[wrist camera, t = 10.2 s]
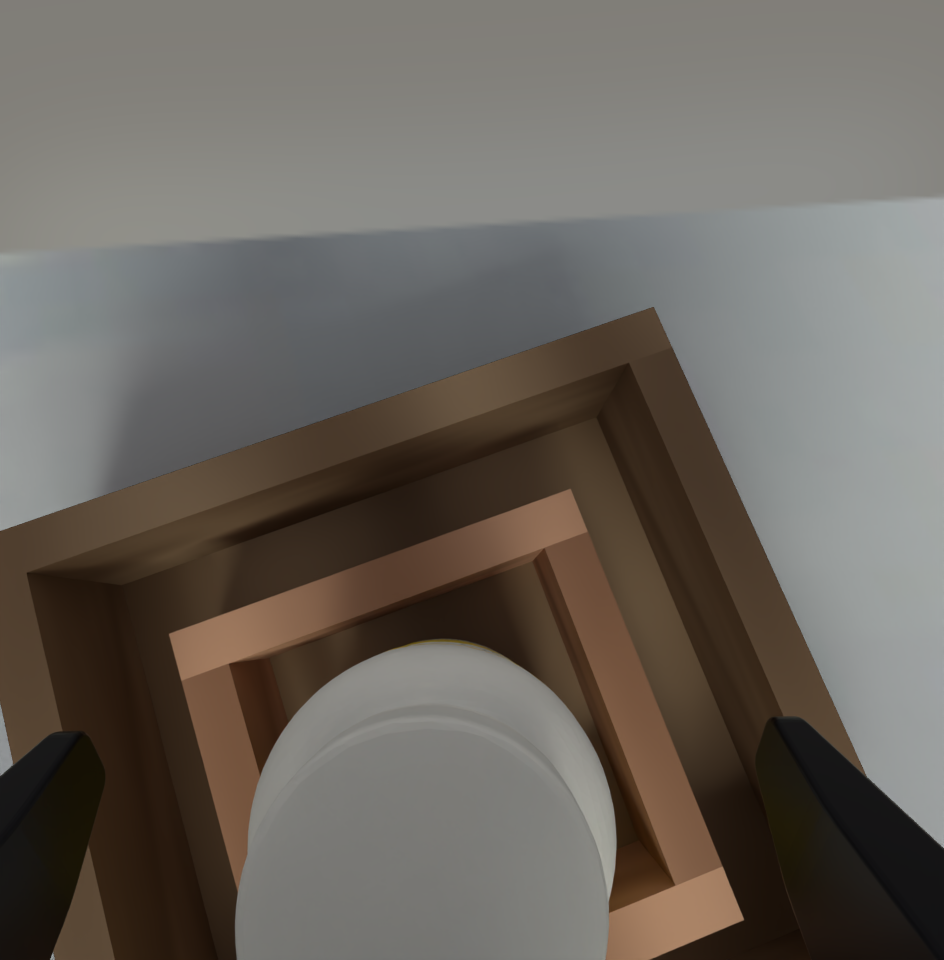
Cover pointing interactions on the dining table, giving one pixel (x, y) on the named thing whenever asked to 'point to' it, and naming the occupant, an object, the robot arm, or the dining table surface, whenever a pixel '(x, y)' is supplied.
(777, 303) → the dining table surface
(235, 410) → the dining table surface
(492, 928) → the supplement bottle
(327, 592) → the box
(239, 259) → the dining table surface
